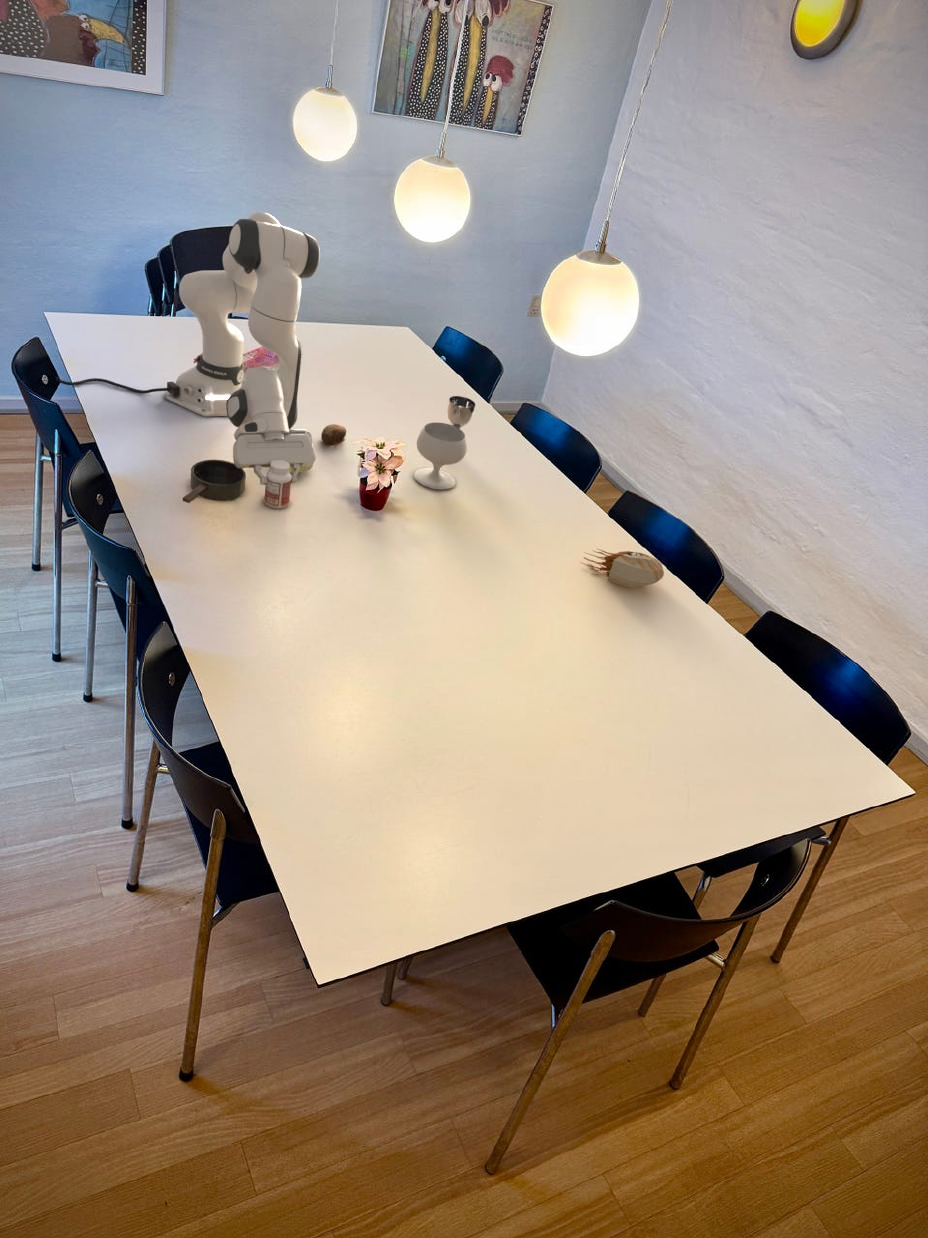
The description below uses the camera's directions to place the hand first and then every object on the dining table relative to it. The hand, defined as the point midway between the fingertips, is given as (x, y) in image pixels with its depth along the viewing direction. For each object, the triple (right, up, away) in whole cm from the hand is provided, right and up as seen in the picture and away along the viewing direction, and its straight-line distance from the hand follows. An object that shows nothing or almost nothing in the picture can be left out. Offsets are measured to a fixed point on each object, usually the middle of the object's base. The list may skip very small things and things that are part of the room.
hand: (279, 483), depth 220 cm
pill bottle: (-2, -4, +4) cm, 6 cm away
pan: (-16, -1, +4) cm, 17 cm away
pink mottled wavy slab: (-19, +49, +70) cm, 87 cm away
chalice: (+37, +6, +32) cm, 50 cm away
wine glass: (+42, +19, +52) cm, 70 cm away
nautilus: (+86, -23, +11) cm, 90 cm away
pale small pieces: (+20, 0, +18) cm, 27 cm away
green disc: (-1, +7, +20) cm, 21 cm away
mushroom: (+8, +17, +37) cm, 41 cm away
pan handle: (-19, -4, -7) cm, 20 cm away
